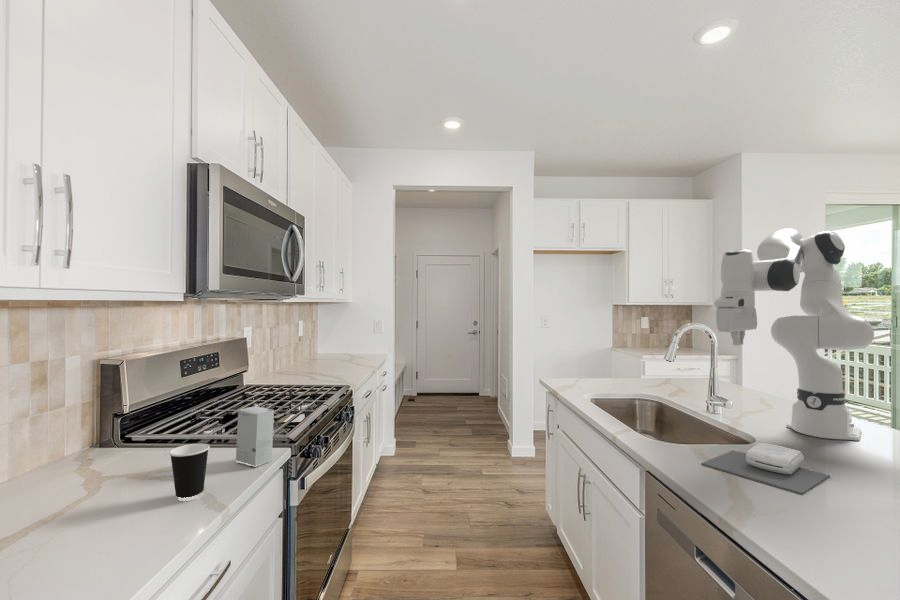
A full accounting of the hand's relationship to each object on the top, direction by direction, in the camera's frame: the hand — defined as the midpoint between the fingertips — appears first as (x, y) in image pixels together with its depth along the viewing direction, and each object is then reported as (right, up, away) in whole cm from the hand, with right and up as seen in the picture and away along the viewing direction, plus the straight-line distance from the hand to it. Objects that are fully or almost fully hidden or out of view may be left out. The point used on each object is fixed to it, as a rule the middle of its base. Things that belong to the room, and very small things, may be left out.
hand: (738, 345), depth 135 cm
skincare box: (-145, -31, -16) cm, 149 cm away
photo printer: (-1, -27, -18) cm, 33 cm away
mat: (-9, -30, -24) cm, 39 cm away
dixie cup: (-150, -31, -37) cm, 158 cm away
